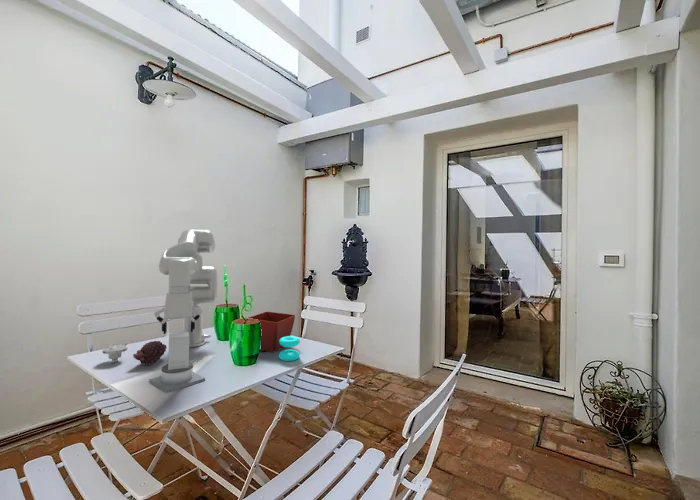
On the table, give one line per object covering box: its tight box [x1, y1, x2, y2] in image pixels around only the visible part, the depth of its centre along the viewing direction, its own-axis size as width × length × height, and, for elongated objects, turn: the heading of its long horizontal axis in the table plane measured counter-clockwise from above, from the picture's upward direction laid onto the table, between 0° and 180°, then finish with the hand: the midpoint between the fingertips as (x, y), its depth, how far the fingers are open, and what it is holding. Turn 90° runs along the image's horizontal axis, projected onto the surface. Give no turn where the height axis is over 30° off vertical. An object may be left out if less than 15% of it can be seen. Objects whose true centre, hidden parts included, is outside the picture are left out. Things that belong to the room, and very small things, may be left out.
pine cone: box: [132, 340, 167, 366], centre depth 153 cm, size 18×10×10 cm, turn 169°
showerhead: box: [101, 342, 128, 363], centre depth 154 cm, size 9×7×10 cm
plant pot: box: [247, 311, 296, 353], centre depth 181 cm, size 19×19×17 cm
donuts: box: [278, 335, 301, 362], centre depth 165 cm, size 10×10×10 cm
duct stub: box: [148, 361, 206, 394], centre depth 135 cm, size 15×15×6 cm
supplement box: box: [167, 332, 190, 370], centre depth 135 cm, size 7×7×13 cm
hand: (178, 332), depth 135 cm, fingers open, 9 cm apart
